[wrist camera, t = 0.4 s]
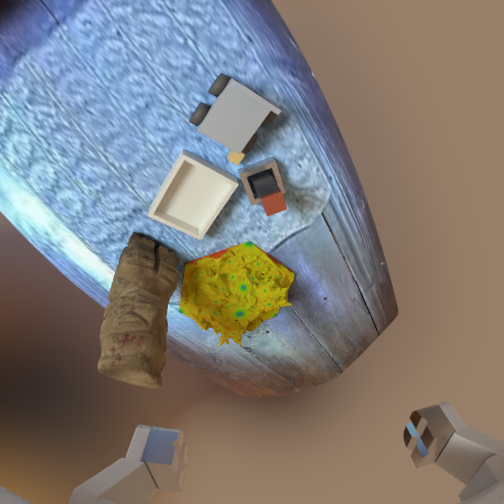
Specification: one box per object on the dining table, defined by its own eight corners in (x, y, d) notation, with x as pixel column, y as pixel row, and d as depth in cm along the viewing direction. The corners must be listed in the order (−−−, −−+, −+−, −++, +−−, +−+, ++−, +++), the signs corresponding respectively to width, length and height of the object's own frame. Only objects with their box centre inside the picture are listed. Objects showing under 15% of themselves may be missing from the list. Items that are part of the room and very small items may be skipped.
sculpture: (184, 250, 65) (189, 371, 41) (165, 279, 68) (163, 397, 44) (133, 226, 59) (107, 346, 35) (117, 258, 62) (92, 376, 39)
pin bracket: (237, 169, 56) (239, 174, 54) (272, 156, 56) (275, 161, 54) (249, 199, 60) (251, 205, 58) (282, 187, 60) (285, 192, 58)
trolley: (220, 72, 45) (228, 75, 36) (274, 106, 50) (293, 118, 41) (189, 119, 49) (188, 134, 40) (242, 150, 54) (254, 171, 45)
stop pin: (249, 174, 57) (261, 199, 48) (266, 167, 57) (281, 191, 48) (254, 189, 59) (267, 216, 51) (271, 183, 59) (287, 209, 50)
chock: (234, 145, 53) (235, 149, 51) (243, 150, 54) (245, 154, 52) (226, 156, 54) (228, 160, 52) (235, 161, 55) (237, 165, 53)
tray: (183, 148, 52) (182, 154, 49) (236, 177, 57) (238, 184, 54) (149, 207, 57) (147, 215, 55) (200, 231, 63) (200, 240, 60)
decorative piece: (248, 361, 80) (152, 320, 65) (243, 339, 87) (154, 296, 71) (321, 305, 72) (227, 242, 57) (311, 283, 78) (222, 221, 63)
